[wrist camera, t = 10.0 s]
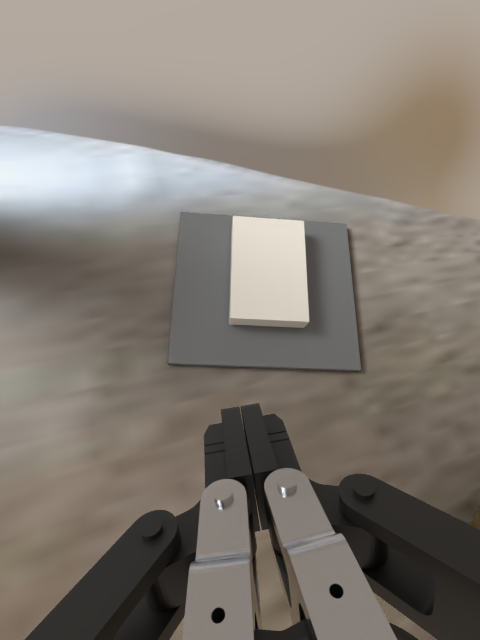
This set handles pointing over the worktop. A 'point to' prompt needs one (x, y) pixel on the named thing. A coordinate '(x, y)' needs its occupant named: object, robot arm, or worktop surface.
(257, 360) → the mat
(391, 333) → the worktop surface
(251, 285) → the tile
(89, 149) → the worktop surface
